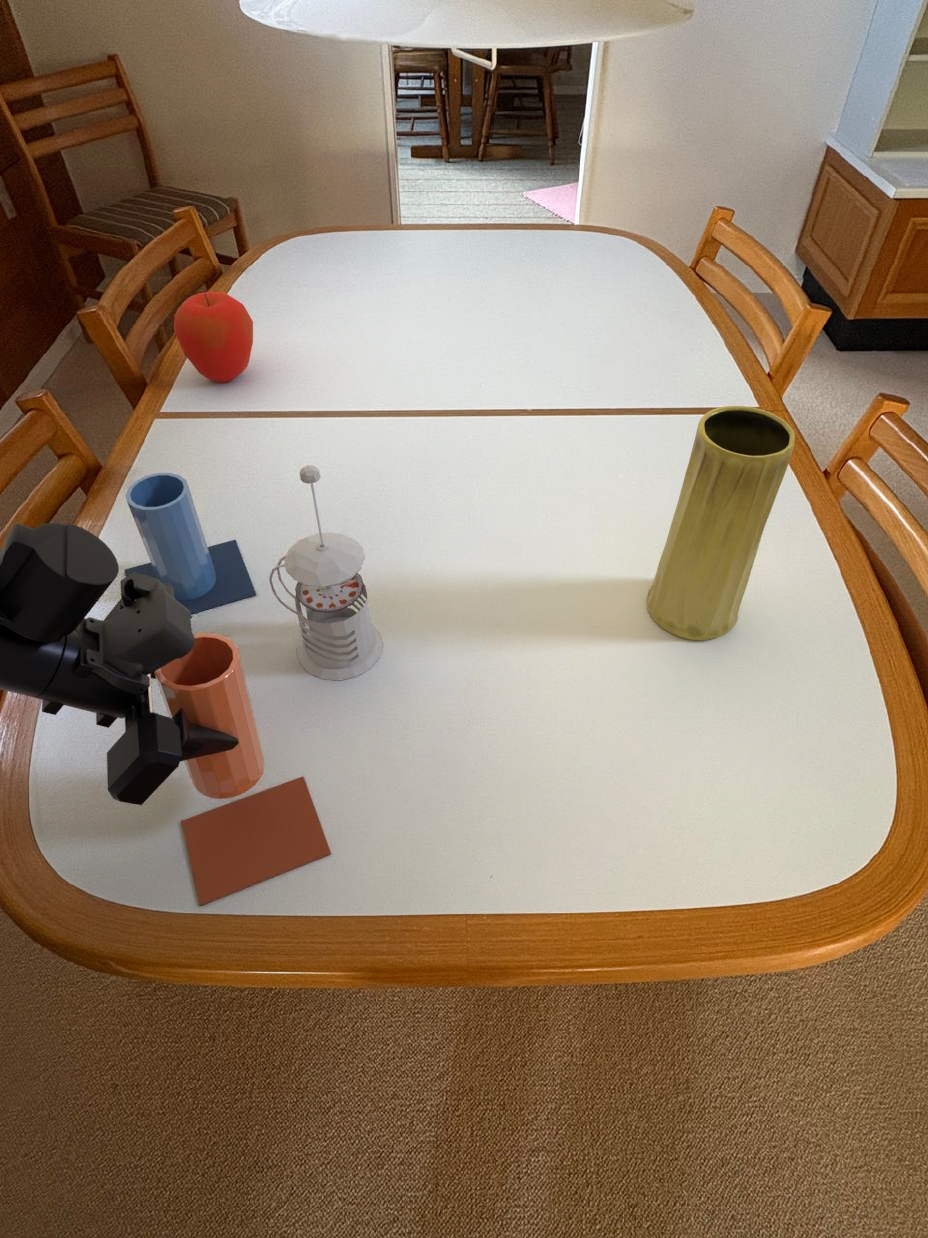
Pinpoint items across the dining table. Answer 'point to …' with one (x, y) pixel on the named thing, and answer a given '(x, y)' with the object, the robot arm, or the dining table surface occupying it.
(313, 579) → the french press
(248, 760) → the terracotta tumbler
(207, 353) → the apple
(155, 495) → the blue tumbler
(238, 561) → the blue pad
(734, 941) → the dining table surface
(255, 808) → the clay pad
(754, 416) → the vase
